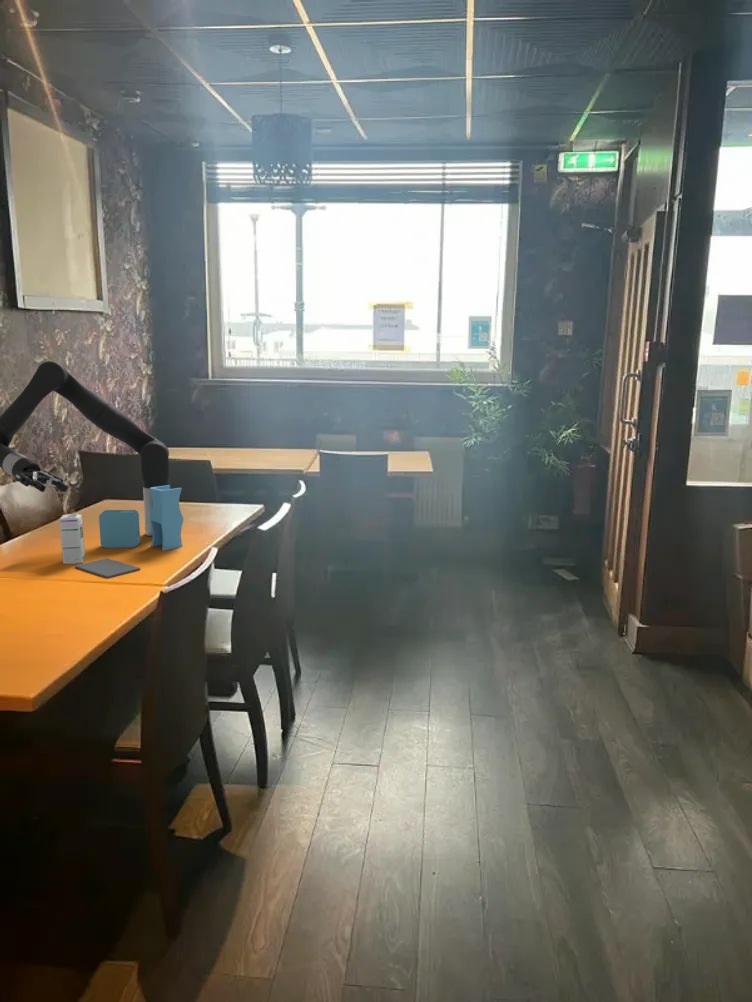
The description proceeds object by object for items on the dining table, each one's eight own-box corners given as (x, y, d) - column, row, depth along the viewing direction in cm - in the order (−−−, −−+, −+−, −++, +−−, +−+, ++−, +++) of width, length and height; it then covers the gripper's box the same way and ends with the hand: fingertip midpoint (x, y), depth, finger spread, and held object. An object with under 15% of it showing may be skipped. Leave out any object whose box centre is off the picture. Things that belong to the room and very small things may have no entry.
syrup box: (82, 563, 226) (79, 517, 224) (62, 564, 225) (58, 518, 222) (85, 558, 232) (82, 513, 229) (65, 559, 230) (62, 514, 228)
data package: (140, 544, 250) (138, 509, 248) (137, 547, 245) (135, 512, 243) (104, 544, 249) (101, 510, 246) (100, 548, 244) (98, 512, 242)
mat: (74, 567, 222) (74, 565, 221) (107, 560, 230) (107, 558, 230) (107, 578, 211) (107, 576, 211) (140, 569, 220) (140, 567, 220)
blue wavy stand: (184, 546, 248) (182, 487, 244) (163, 550, 242) (160, 490, 238) (171, 542, 253) (169, 484, 249) (150, 546, 247) (148, 487, 243)
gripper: (6, 456, 231) (40, 478, 225) (42, 458, 244) (76, 478, 238) (-2, 477, 232) (33, 500, 226) (35, 478, 245) (69, 499, 239)
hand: (55, 489), depth 232 cm, fingers open, 8 cm apart
